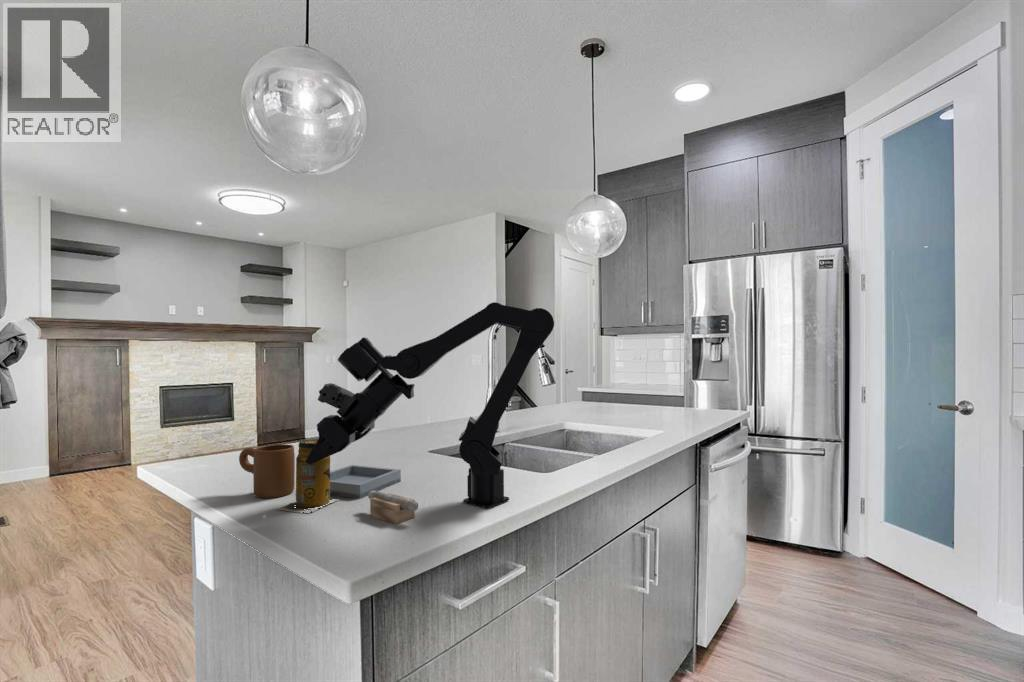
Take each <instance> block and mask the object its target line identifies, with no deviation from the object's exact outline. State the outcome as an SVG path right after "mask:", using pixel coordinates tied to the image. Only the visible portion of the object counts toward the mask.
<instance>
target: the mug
mask: <svg viewBox="0 0 1024 682" xmlns="http://www.w3.org/2000/svg"><path fill="white" fill-rule="evenodd" d="M295 454H296V453H295V447H294V445H292V444H270V445H263V446H259V447H256V448H254V447H246V448H244V449H242V451H241V452H240V454H239V455H238V456H239V457H238V460H239V465H240V467H241V468H242V470H244V471H245V472H248V473H251V474H253V476H252V477H253V478H252V479H253V495H254V496H255V497H256V498H258V497H259V498H258V499H275V497H276V498H280V497H284V496H289V495H290V494H292V493H293V492H294V490H295V477H296V466H295V465H296V462H295V461H296V460H295V457H296V456H295ZM248 456H250V457H251V458H253V463H251V462H250V460H249V457H248Z"/></svg>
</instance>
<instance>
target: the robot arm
mask: <svg viewBox="0 0 1024 682" xmlns="http://www.w3.org/2000/svg"><path fill="white" fill-rule="evenodd" d="M496 325H499V326H503V327H506V328H509V329H514V330H518V331H519V332H518V334H517V340H516V341H515V346H514V349H513V351H512V353H511V355H510V357H509V359H508V361H507V363H506V364H505V367H504V369H503V371H502V372H501V375H500V376H499V379H498V381H497V383H496V385H495V386H494V389H493V391H492V392H491V395H490V396H489V399H488V401H487V402H486V404H485V406H484V409H483V410H482V412H481V413H480V414H479V415H478V416H477V418H476V419H475V418H473V416H469V419H468V421H467V424H466V427H465V429H464V430H463V432H461V434H460V435H459V438H458V442H460V444H459V448H458V449H459V450H458V451H459V454H460V458H461V459H462V460H463V461H464V462H465V463H466V464H468V465H469V468H468V475H467V481H466V482H467V498H464V499H463V500H462V503H464V504H469V505H473V506H477V507H481V508H485V509H491V508H492V507H493V508H494V507H496V506H498V505H500V504H502V503H505V502H507V501H510V497H509V496H505V482H504V481H505V477H504V475H505V473H504V472H505V469H502V468H501V467H502V454H501V452H500V451H498V449H496V447H494V446H493V444H494V441H495V438H496V433H497V430H498V425H499V423H500V421H501V419H502V417H503V414H504V413H505V411H506V409H507V406H508V405H509V403H510V401H511V399H512V397H513V395H514V393H515V392H516V389H517V388H518V385H519V383H520V382H521V379H522V377H523V375H524V373H525V371H526V369H527V367H528V366H529V363H530V361H531V360H532V357H533V356H534V355H535V354H536V353H537V351H538V350H539V349H540V348H541V347H542V345H543V344H544V343H545V341H546V340H547V339H548V337H549V336H550V335H551V333H552V332H553V330H554V328H555V320H554V317H553V315H552V314H551V312H550V311H548V310H547V309H544V308H541V307H536V308H532V309H531V310H529V309H525V308H520V307H514V306H510V305H509V306H508V305H506V304H501V303H500V302H496V301H495V302H491V303H489V304H487V305H486V307H484V308H483V309H481V310H479V311H478V312H476V313H474V314H473V315H471V316H469V317H468V318H465V320H462V321H461V322H459V323H457V324H456V325H454V326H453V327H451V328H449V329H448V330H445V331H444V332H443V333H440V335H437V336H436V337H432V338H431V339H429V340H425V341H423V342H420V343H417V344H414V345H411V346H409V347H407V348H403V349H402V350H401V351H399V352H397V355H390V354H389V355H383V354H382V353H381V352H380V351H379V350H378V349H377V348H376V347H375V346H374V344H373V342H371V340H370V339H369V338H368V337H362V338H361V339H360V340H358V341H357V342H355V343H354V344H352V345H351V346H350V347H347V348H345V350H343V352H342V353H341V354H340V355H339V357H338V358H337V361H338V362H339V363H340V365H342V366H343V368H344V369H345V370H346V371H348V373H350V374H351V376H353V378H354V379H355V380H357V382H362V381H363V380H364V381H365V382H366V383H367V382H370V381H371V380H372V379H373V378H374V380H372V381H371V382H370V383H369V384H368V385H367V386H366V387H365V388H364V389H363V390H362V391H360V392H356V393H353V392H352V391H350V390H348V389H346V388H343V387H342V386H339V385H338V384H336V383H325V384H324V385H323V387H322V388H321V389H319V390H318V393H319V395H318V397H317V401H319V402H320V403H322V404H323V403H325V404H327V405H330V406H331V407H333V408H336V409H338V410H337V411H336V413H337V414H329V415H328V416H325V417H323V418H322V419H321V420H320V421H318V423H317V424H316V430H317V432H318V438H317V439H318V441H317V442H316V444H315V446H314V447H313V449H312V451H311V452H310V454H309V455H308V457H307V459H306V462H307V463H308V464H309V465H310V464H313V463H315V462H317V461H319V460H322V459H324V458H326V457H328V456H330V457H331V456H333V455H335V454H337V453H340V452H342V451H344V450H345V449H346V448H348V447H349V446H350V445H351V444H352V443H354V442H356V441H359V440H361V439H362V438H364V437H365V436H367V435H368V434H370V432H372V431H373V429H374V428H375V423H376V421H377V420H378V419H379V418H380V417H382V416H383V415H384V414H385V413H386V412H387V410H388V409H389V408H390V406H392V405H393V404H394V402H395V401H397V400H398V399H399V398H400V397H401V396H402V395H404V397H406V398H407V399H408V400H410V399H412V398H414V397H415V394H414V391H415V390H414V388H415V384H414V383H411V384H409V383H407V382H406V381H405V380H404V379H407V380H410V379H416V378H419V377H422V376H423V375H424V374H426V373H427V372H429V370H431V369H432V368H433V367H434V366H435V365H436V364H437V363H438V362H439V361H440V360H441V359H442V358H443V357H445V356H446V355H448V353H450V352H452V351H453V350H456V349H457V348H459V347H460V346H462V345H463V344H465V343H468V341H471V340H472V339H474V338H475V337H477V336H478V335H481V334H482V333H483V332H485V331H487V330H489V329H491V328H493V326H496ZM390 371H395V372H397V373H396V374H395V375H393V374H392V372H390ZM379 372H381V373H379ZM378 373H379V374H378ZM377 374H378V375H377ZM376 375H377V376H376ZM375 376H376V377H375ZM403 378H404V379H403ZM490 507H491V508H490Z"/></svg>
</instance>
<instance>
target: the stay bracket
mask: <svg viewBox="0 0 1024 682" xmlns="http://www.w3.org/2000/svg"><path fill="white" fill-rule="evenodd" d="M367 497H368V499H370V503H369V505H370V506H369V508H370V511H369V513H370V517H374V518H377V519H380V520H383V521H386V522H390V523H392V524H396V525H397V524H400V523H402V522H405V521H408V520H412V519H414V518H415V512H416V511H418V509H419V503H418V502H417V501H415V499H412V498H409V497H404V496H400V495H396V494H393V493H391V492H390V493H385V492H382V491H373V490H372V491H370V492H369V494H368V495H367Z"/></svg>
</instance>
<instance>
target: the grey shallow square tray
mask: <svg viewBox="0 0 1024 682" xmlns="http://www.w3.org/2000/svg"><path fill="white" fill-rule="evenodd" d="M401 472H402V470H401V469H397V468H388V467H377V466H370V465H367V466H366V465H361V464H359V465H358V464H349V465H346V466H344V467H340V468H337V469H334V470H330V494H332V496H338V495H339V496H340V497H346V498H353V499H355V498H356V499H362V498H364V497H368V494H369V492H370V491H372V490H373V491H378V492H380V491H381V490H384V489H386V488H387V487H390V486H394V485H395V484H398V483H399V482H401V481H402V480H401V479H402V477H401V476H402V474H401Z"/></svg>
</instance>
